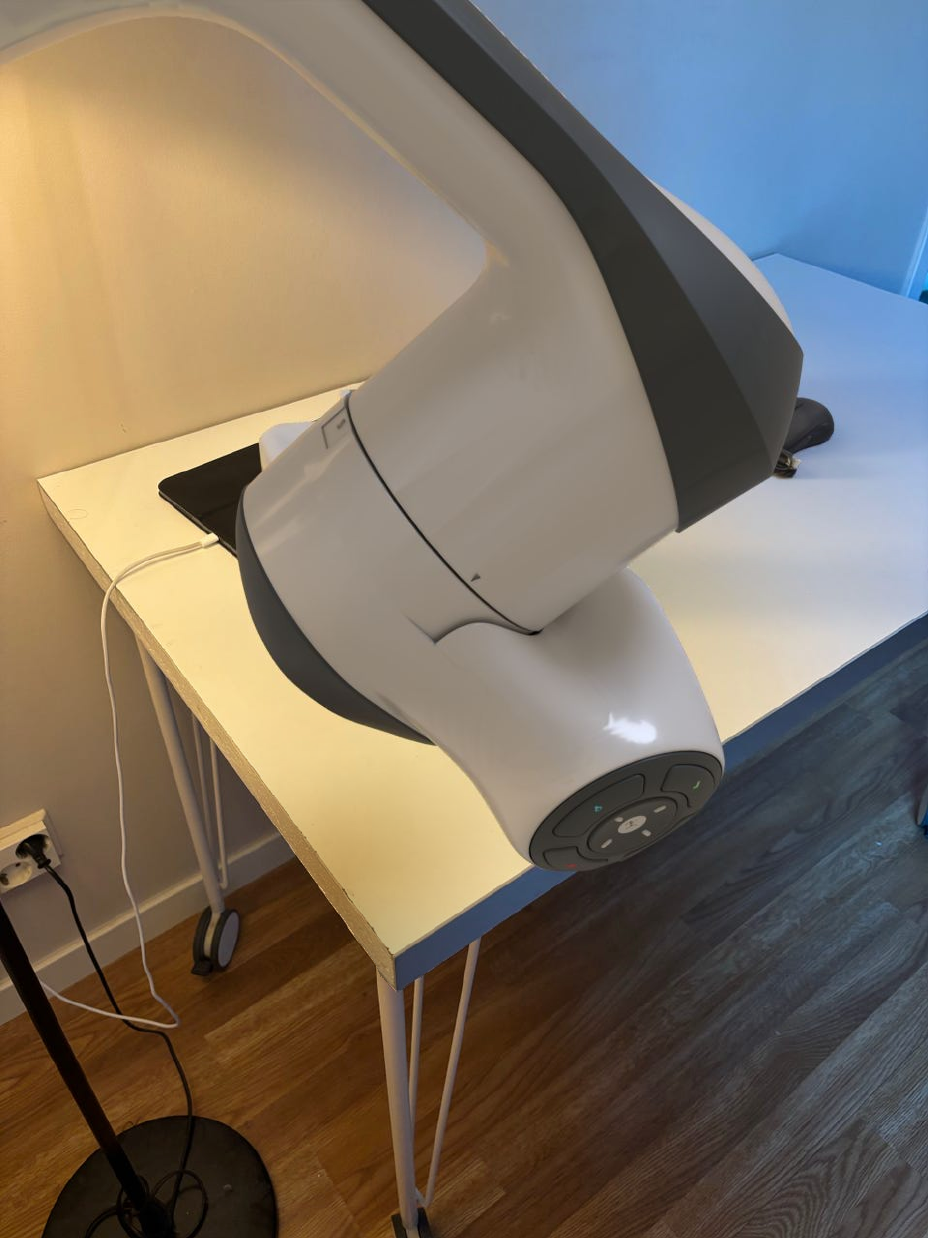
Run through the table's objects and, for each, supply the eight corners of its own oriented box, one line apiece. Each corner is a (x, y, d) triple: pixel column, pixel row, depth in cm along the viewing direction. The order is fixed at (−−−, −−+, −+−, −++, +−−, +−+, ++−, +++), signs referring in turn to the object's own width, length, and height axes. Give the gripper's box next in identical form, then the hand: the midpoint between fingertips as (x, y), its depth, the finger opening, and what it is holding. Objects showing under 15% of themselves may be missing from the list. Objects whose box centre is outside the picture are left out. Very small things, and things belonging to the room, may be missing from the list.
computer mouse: (860, 439, 108) (870, 408, 105) (786, 483, 100) (795, 451, 98) (784, 405, 113) (792, 375, 111) (709, 444, 106) (716, 413, 103)
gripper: (733, 457, 42) (623, 327, 52) (268, 504, 38) (246, 353, 48) (705, 569, 47) (608, 428, 57) (282, 622, 42) (259, 460, 53)
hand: (438, 394), depth 53 cm, fingers open, 8 cm apart
